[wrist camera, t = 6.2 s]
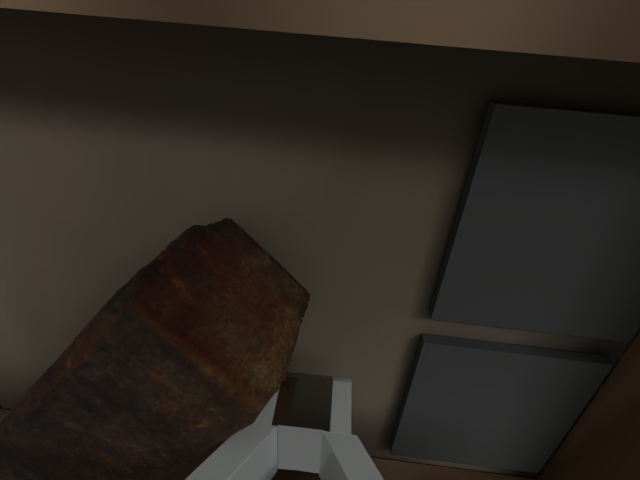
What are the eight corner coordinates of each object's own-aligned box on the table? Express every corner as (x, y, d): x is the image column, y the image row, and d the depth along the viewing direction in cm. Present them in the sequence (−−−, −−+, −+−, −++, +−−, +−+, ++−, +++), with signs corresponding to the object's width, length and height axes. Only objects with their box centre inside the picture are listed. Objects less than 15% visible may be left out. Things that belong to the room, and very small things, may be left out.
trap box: (932, 12, 7) (1264, 3, 4) (554, 497, 16) (590, 585, 14) (-338, -88, 8) (-662, -142, 6) (-14, 421, 17) (-79, 490, 15)
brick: (219, 197, 10) (107, 288, 6) (317, 289, 11) (275, 424, 7) (64, 363, 15) (-62, 481, 11) (143, 421, 16) (54, 551, 12)
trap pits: (759, 125, 8) (776, 129, 8) (534, 463, 15) (538, 473, 15) (490, 100, 9) (495, 103, 8) (389, 444, 16) (390, 454, 15)
